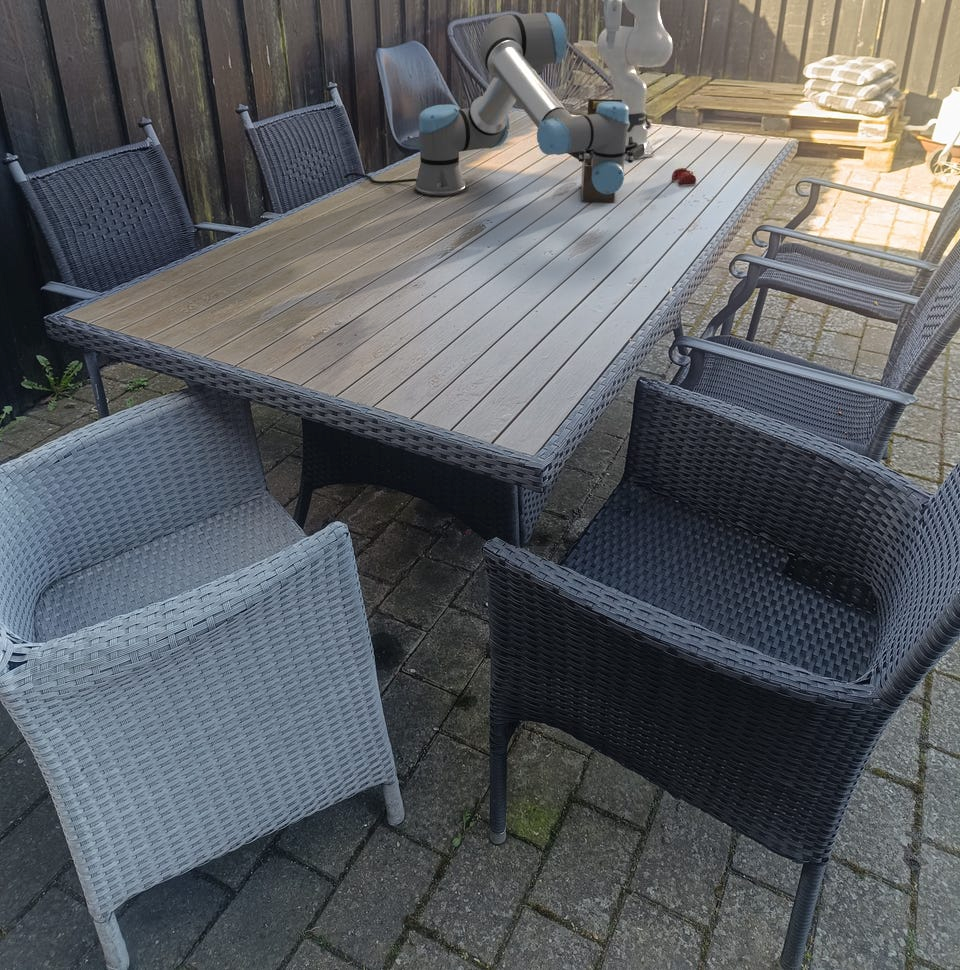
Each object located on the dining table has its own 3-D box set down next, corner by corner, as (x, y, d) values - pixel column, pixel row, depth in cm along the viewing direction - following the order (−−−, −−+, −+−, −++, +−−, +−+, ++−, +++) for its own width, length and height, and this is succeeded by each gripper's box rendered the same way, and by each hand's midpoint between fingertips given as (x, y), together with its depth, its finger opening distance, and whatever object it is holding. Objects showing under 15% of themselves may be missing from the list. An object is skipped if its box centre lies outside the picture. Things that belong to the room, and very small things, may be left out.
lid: (588, 99, 238) (589, 94, 230) (621, 100, 238) (624, 95, 229) (584, 163, 243) (586, 161, 235) (617, 164, 243) (619, 162, 234)
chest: (581, 185, 262) (583, 151, 256) (611, 186, 261) (614, 152, 255) (582, 201, 249) (584, 166, 243) (613, 202, 248) (617, 166, 242)
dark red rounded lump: (687, 164, 265) (698, 171, 259) (685, 177, 268) (697, 185, 262) (670, 166, 264) (681, 173, 258) (669, 179, 267) (680, 187, 261)
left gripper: (555, 176, 213) (557, 154, 231) (655, 179, 211) (649, 156, 229) (557, 145, 209) (559, 125, 226) (658, 148, 207) (652, 127, 224)
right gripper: (628, -9, 211) (623, 52, 219) (625, -17, 228) (620, 40, 236) (603, -10, 212) (598, 51, 220) (601, -18, 228) (597, 40, 236)
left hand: (604, 141), depth 227 cm, fingers open, 13 cm apart
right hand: (609, 45), depth 228 cm, fingers open, 8 cm apart
